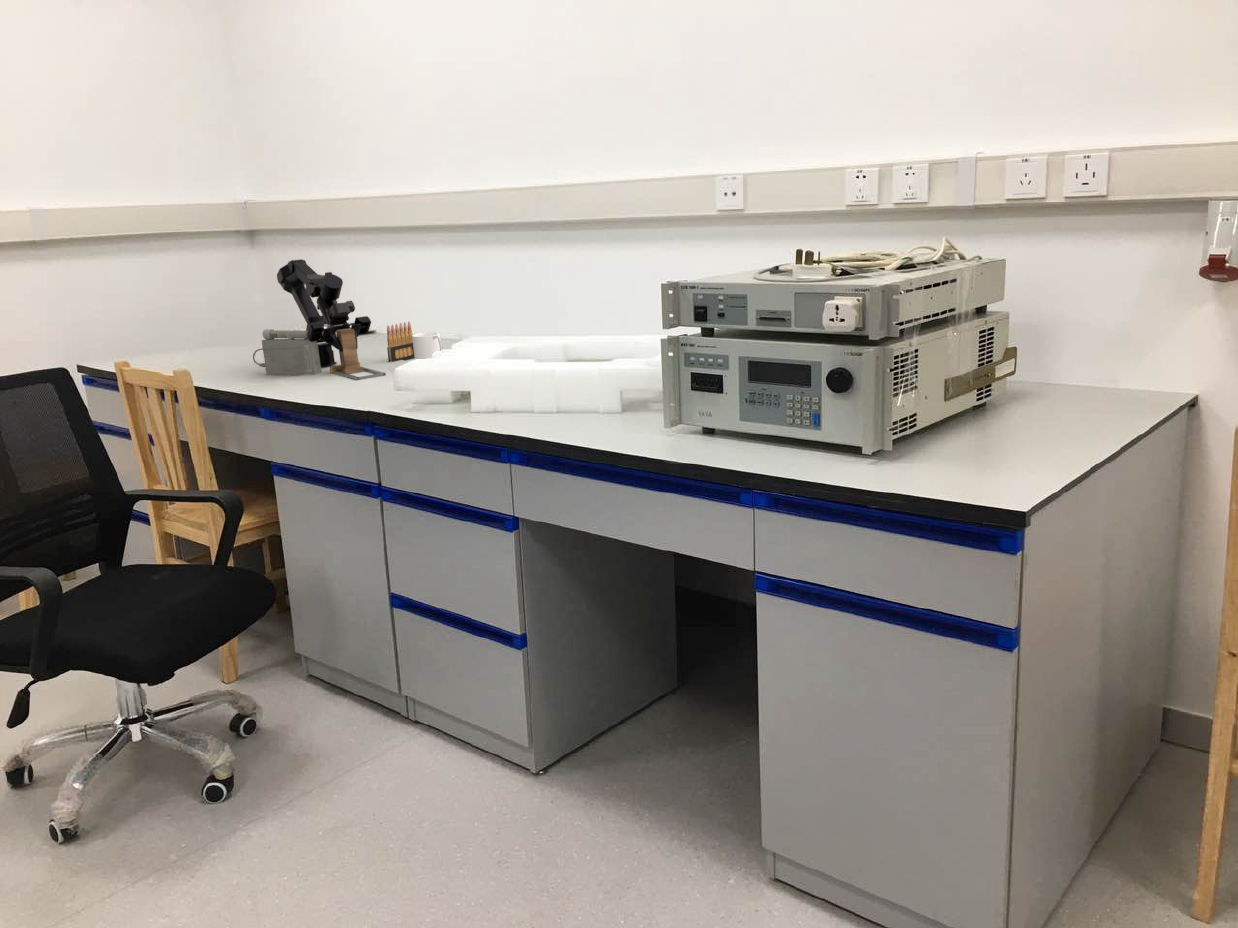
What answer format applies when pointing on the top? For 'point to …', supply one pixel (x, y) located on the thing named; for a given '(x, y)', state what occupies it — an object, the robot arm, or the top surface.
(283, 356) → the geiger counter
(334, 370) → the track
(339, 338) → the plate
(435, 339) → the cup
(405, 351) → the ammunition clip
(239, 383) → the top surface
